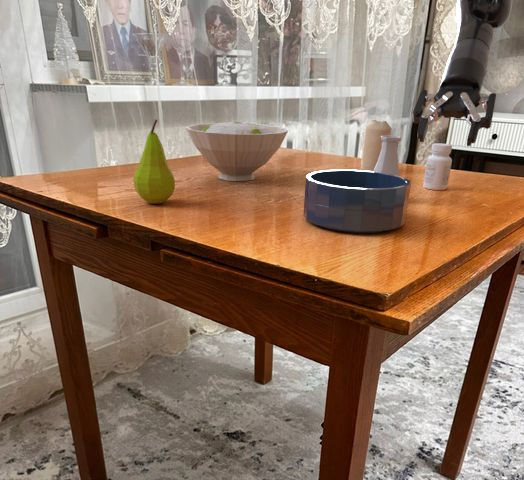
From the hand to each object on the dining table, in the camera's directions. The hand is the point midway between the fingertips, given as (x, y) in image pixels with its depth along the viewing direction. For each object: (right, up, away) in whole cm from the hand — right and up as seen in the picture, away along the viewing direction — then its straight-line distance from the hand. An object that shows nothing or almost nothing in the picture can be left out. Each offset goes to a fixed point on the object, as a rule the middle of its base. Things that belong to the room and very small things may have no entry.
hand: (444, 141), depth 100 cm
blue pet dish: (-21, -20, -23) cm, 37 cm away
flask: (-14, -14, -9) cm, 21 cm away
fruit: (-50, -16, -16) cm, 55 cm away
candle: (-10, 0, +17) cm, 20 cm away
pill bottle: (-1, -9, +1) cm, 9 cm away
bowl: (-39, -5, +5) cm, 40 cm away
